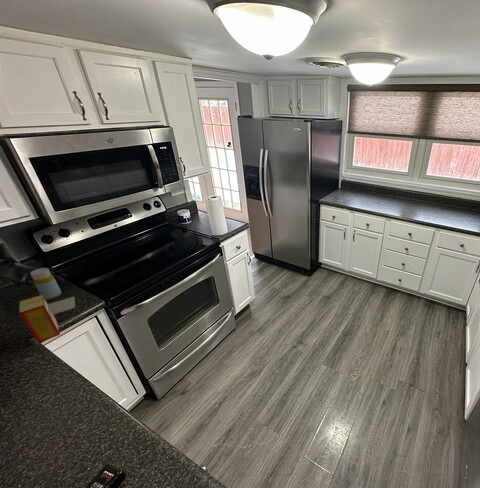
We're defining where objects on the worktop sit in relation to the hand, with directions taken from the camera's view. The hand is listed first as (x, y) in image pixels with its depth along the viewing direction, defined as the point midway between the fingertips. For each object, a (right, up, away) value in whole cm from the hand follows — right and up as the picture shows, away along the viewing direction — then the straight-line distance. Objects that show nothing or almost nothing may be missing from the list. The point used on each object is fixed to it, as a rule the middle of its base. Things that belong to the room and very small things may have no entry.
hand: (41, 280), depth 130 cm
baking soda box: (+23, -20, -19) cm, 36 cm away
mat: (+13, -12, -4) cm, 18 cm away
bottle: (+2, -9, +3) cm, 10 cm away
